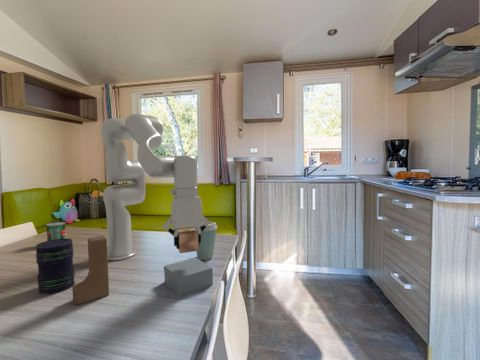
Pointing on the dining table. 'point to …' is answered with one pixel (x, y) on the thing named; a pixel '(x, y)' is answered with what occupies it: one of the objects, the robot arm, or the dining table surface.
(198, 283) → the slate box
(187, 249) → the terracotta cube
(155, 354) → the dining table surface
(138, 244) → the dining table surface
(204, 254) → the disposable coffee cup
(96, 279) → the wooden block
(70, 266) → the storage jar
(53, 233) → the canned tomato
